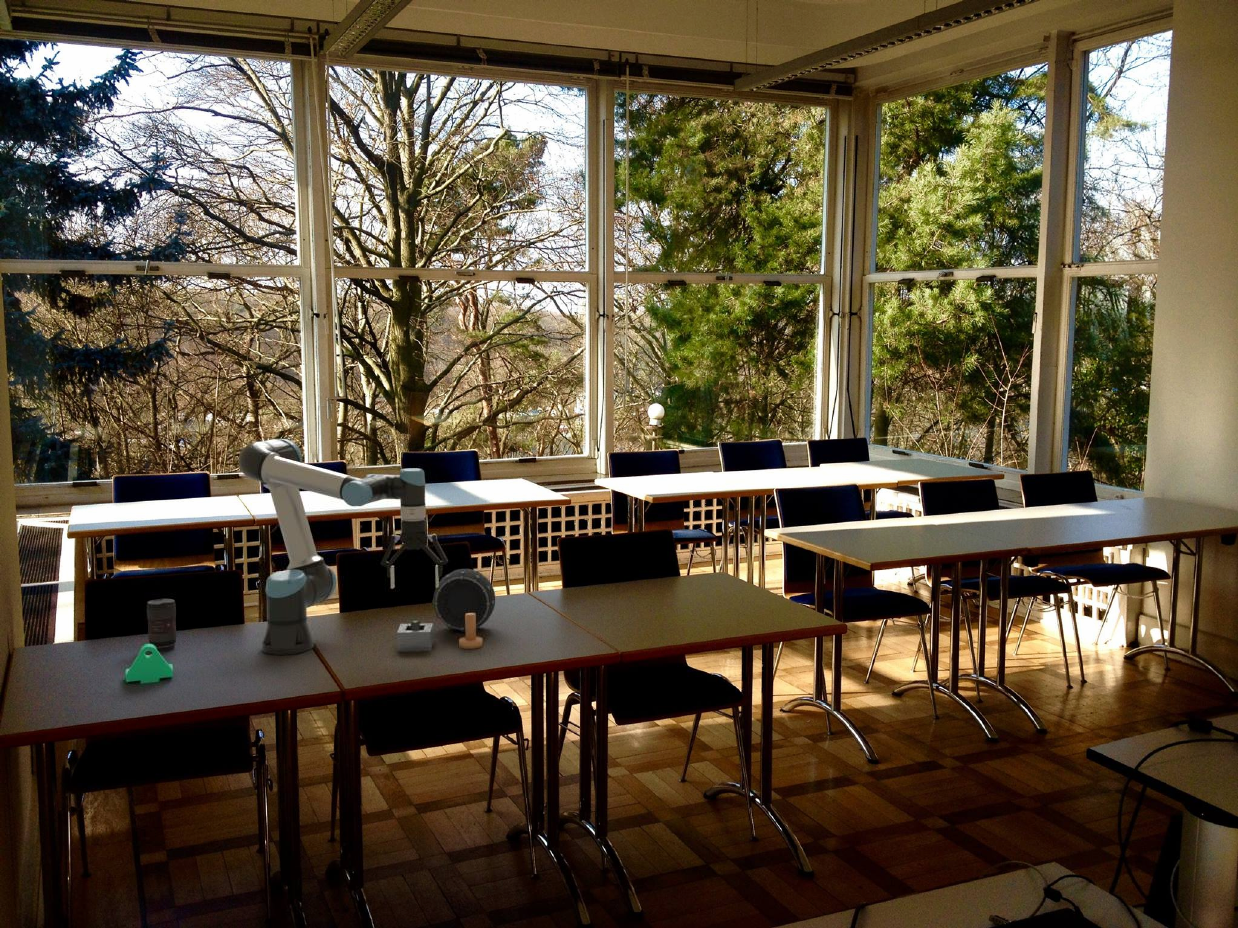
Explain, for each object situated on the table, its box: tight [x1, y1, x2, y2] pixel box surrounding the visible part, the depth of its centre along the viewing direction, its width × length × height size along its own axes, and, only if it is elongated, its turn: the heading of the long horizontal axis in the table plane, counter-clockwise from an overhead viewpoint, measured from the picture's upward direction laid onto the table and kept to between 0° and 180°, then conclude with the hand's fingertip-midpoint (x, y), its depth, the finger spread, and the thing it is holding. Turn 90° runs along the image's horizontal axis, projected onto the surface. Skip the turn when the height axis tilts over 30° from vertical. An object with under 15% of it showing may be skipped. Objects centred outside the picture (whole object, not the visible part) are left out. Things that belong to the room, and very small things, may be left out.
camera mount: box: [125, 643, 174, 684], centre depth 298 cm, size 12×8×10 cm, turn 114°
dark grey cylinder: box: [146, 598, 177, 653], centre depth 326 cm, size 8×8×15 cm
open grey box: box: [396, 622, 434, 653], centre depth 330 cm, size 10×10×6 cm
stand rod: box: [410, 619, 421, 630], centre depth 329 cm, size 3×3×8 cm
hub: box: [458, 613, 483, 650], centre depth 331 cm, size 7×7×10 cm
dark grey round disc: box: [432, 568, 496, 633], centre depth 349 cm, size 11×20×20 cm, turn 89°
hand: (415, 587), depth 328 cm, fingers open, 13 cm apart
